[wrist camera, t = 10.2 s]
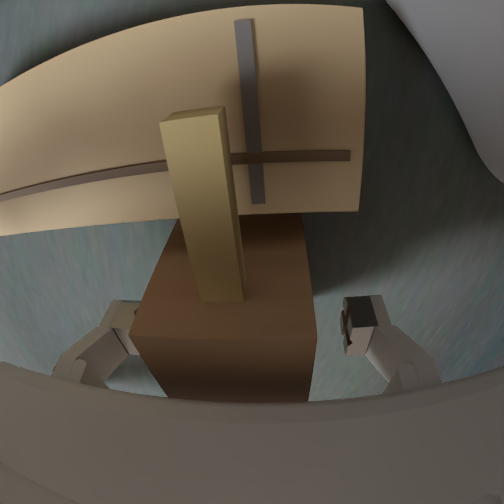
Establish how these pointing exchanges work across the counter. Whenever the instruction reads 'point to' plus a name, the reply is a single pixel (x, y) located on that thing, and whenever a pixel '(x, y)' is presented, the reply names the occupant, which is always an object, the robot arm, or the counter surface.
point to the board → (187, 98)
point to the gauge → (225, 283)
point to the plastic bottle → (466, 63)
